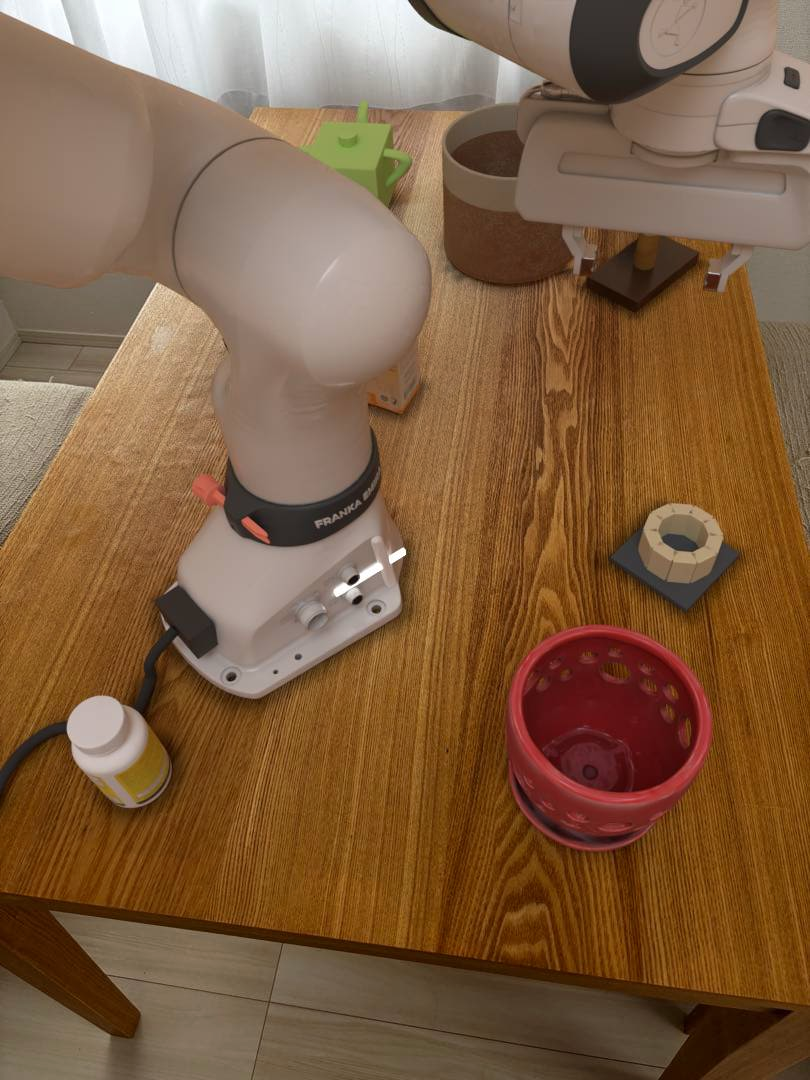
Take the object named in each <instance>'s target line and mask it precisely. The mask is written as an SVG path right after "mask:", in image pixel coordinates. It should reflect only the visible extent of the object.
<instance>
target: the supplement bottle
mask: <svg viewBox="0 0 810 1080" xmlns="http://www.w3.org/2000/svg"><path fill="white" fill-rule="evenodd" d="M67 722H68V723H67V733H66V734H67V736H68V739H69V740H70V742H71V754H72V757H73V760H74V762H75V763H76V765H77V766H78V768H79V769H80V770H81V771H82V772H83V773H84V774H85V775H86V776H87V778H89V779H90V781H92V782H93V784H94V785H95V786H96V787H97V788H98V789H99V790H100V792H102V794H103V795H104V796H105V797H106V798H107V799H108V800H109V801H110V802H112V803H113V804H114V805H116V806H118V807H121V808H125V809H126V808H127V809H135V808H140V807H144V806H146V805H149V804H150V803H152V802H153V801H155V800H156V799H157V798H159V797H160V795H162V794H163V792H164V791H165V790H166V788H167V787H168V784H169V782H170V780H171V777H172V771H173V770H172V768H173V767H172V766H173V765H172V761H171V760H172V759H171V757H170V754H169V752H168V751H167V749H166V748H165V746H164V745H163V743H162V742H161V741H160V739H159V738H158V736H157V735H156V733H155V732H154V730H153V729H152V727H151V726H150V725H149V723H148V722H147V720H146V719H145V718H144V717H143V715H140V713H139V712H137V711H136V710H135V709H133V707H131V706H128V705H126V704H122V703H121V702H120V701H119V700H117V698H114V697H112V696H109V695H102V694H101V695H93V696H91V697H88V698H86V699H85V700H83V701H81V702H80V703H79V704H78V705H76V706H75V708H74V709H73V710H72V711H71V713H70V715H69V717H68V719H67Z"/></svg>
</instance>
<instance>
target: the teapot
mask: <svg viewBox="0 0 810 1080" xmlns="http://www.w3.org/2000/svg"><path fill="white" fill-rule="evenodd" d="M369 104H370V103H369V101H368V100H363V101H361V102H360V103H359V104H358V108H357V113H356V120H355V122H351V121H350V122H349V121H325V120H324V121H322V123H321V126H320V128H319V130H318V132H317V134H316V137H315V138H314V141H313V143H312V144H311V145H300V146H296V147H297V148H299V149H300V150H302V151H304V152H305V153H307V154H309V155H310V156H312V157H314V158H316V159H317V160H319V161H321V162H322V163H324V164H326V165H327V166H329V167H331V168H333V169H334V170H336V171H338V172H339V173H341V174H343V175H344V176H346V177H348V178H350V179H351V180H353V181H355V182H356V183H358V184H360V185H361V186H363V187H365V188H366V189H368V190H369V191H371V192H372V193H373V194H374V195H375V196H376V197H377V198H378V199H379V200H380V201H381V202H382V203H383V204H384V205H385V206H386V207H387V208H388V209H389V207H390V203H391V200H392V197H393V195H394V191H395V189H396V186H397V182H398V181H400V180H401V179H402V178H403V177H404V176H405V175H406V174H407V173H408V172H409V170H410V169H411V167H412V165H413V158H412V156H411V155H410V154H409V153H407V152H405V151H402V150H398V149H395V146H394V131H393V124H392V123H375V122H373V123H372V122H369V107H370V106H369ZM396 161H397V162H398V163H397V166H396Z"/></svg>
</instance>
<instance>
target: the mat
mask: <svg viewBox="0 0 810 1080" xmlns="http://www.w3.org/2000/svg"><path fill="white" fill-rule="evenodd" d="M644 526H645V523H644V524H643V525H642V526H641V527H640V528H639V529H637V531H636V532H634V533H633V534H632V536H630V537H629V538H628V539H627V540H626V541H625V542H624V543H623V544H622V545H621V546H620V547H619V548H618V549H617V550H616V551H615V552H614V553H613V554H612V555H611V556H610V558H609V561H610V562H611V563H612V564H614V565H616V567H618V568H619V569H621V570H622V571H624V572H625V573H627V574H628V575H630V576H631V577H633V578H634V579H635V580H637V581H639V583H641V584H643V585H644V586H646V587H647V588H648V589H650V590H652V591H653V592H654V593H656V594H657V595H659V596H660V597H661V598H663V599H665V600H666V601H668V602H669V603H670V604H672V605H673V606H675V607H676V608H678V609H679V610H680V611H682V612H683V613H685V614H686V613H687V612H689V610H690V609H691V608H692V607H694V606H695V604H696V603H697V602H698V601H699V600H700V599H701V598H702V597H703V596H704V594H706V593H707V591H709V590H710V588H711V587H712V586H713V585H714V584H715V583H716V582H717V581H718V580H719V578H721V576H722V575H724V573H725V572H726V571H727V570H728V569H729V568H730V567H731V566H732V565H733V564H734V563H735V562H736V561H737V559H738V558H739V557H740V554H741V553H740V552H739V551H737V550H736V549H735V548H733V547H732V546H730V545H728V544H726V543H725V542H723V541H722V543H721V546H720V549H719V552H718V555H717V557H716V560H715V562H714V565H713V567H712V570H711V572H710V573H709V574H708V575H706V576H704V577H702V578H700V579H699V580H697V581H695V582H693V583H691V582H690V583H689V584H688V583H677V582H667V579H666V580H665V581H664V580H663V579H661V578H660V577H658V576H656V575H655V574H653V573H652V572H650V571H649V570H647V567H645V566H644V564H643V561H642V559H641V556H640V554H639V551H638V547H639V543H640V539H641V535H642V532H643V528H644ZM661 539H662V541H663V543H665V544H666V545H668V546H669V547H671V548H672V549H674V550H676V551H684V552H694V551H696V550H698V549H699V548H698V546H697V544H696V543H695V542H694V541H692V540H690V539H689V538H687V537H686V536H684V535H676V534H667V535H665V536H663V537H661Z"/></svg>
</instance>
